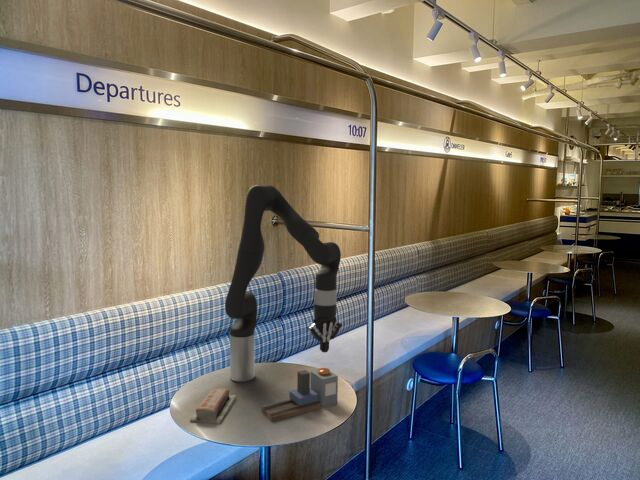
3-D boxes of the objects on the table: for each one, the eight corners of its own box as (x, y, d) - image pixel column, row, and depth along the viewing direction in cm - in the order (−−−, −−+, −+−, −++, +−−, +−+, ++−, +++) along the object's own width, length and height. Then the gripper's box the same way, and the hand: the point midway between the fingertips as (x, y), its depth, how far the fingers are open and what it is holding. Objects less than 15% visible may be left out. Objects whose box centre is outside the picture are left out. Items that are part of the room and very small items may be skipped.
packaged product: (220, 410, 146) (189, 408, 147) (220, 425, 147) (189, 423, 148) (236, 386, 164) (208, 384, 165) (236, 399, 165) (208, 397, 166)
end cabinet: (310, 398, 165) (310, 371, 164) (324, 395, 168) (325, 367, 167) (322, 408, 158) (323, 379, 157) (337, 404, 161) (338, 376, 160)
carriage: (289, 397, 160) (289, 370, 159) (307, 393, 163) (307, 366, 162) (299, 405, 154) (299, 378, 153) (317, 401, 157) (318, 373, 156)
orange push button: (315, 386, 163) (316, 369, 162) (325, 383, 165) (325, 367, 164) (321, 390, 160) (322, 373, 159) (331, 387, 162) (332, 371, 161)
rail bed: (261, 411, 155) (261, 404, 155) (309, 399, 165) (309, 392, 164) (271, 421, 149) (271, 414, 148) (320, 408, 158) (321, 401, 158)
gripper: (335, 297, 166) (334, 345, 168) (302, 301, 159) (301, 351, 161) (348, 302, 159) (346, 351, 161) (314, 306, 152) (313, 358, 154)
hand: (324, 351), depth 161 cm, fingers closed
